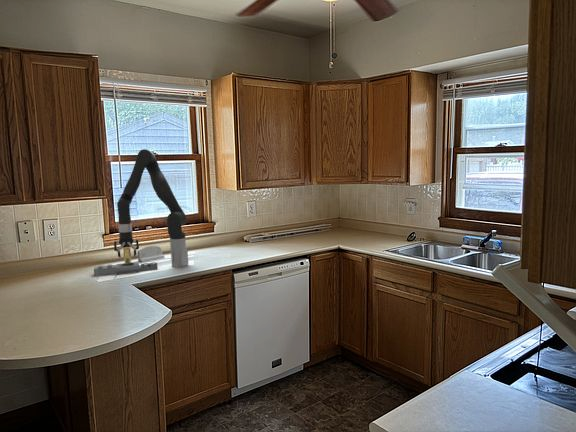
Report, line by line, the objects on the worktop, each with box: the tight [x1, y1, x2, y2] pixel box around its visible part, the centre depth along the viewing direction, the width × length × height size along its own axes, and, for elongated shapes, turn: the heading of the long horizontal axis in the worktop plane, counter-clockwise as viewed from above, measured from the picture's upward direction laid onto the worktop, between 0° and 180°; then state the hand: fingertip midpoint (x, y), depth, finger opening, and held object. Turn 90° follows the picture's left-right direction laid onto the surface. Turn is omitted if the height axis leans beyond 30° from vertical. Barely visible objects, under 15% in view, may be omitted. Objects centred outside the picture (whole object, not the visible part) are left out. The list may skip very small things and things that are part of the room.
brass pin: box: [122, 246, 132, 263], centre depth 268 cm, size 4×4×12 cm
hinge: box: [137, 245, 165, 263], centre depth 288 cm, size 17×5×10 cm, turn 133°
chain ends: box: [93, 261, 158, 277], centre depth 258 cm, size 35×11×5 cm, turn 110°
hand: (127, 256), depth 268 cm, fingers open, 8 cm apart
